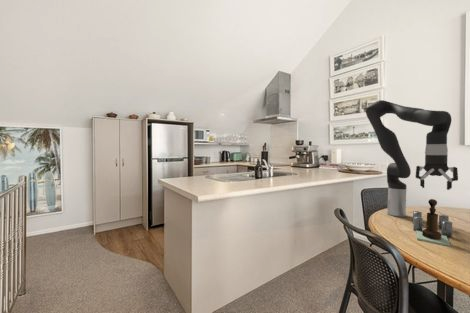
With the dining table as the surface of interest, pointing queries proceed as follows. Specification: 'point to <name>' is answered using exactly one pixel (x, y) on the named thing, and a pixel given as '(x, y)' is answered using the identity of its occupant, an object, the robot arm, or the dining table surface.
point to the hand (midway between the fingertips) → (435, 188)
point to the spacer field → (443, 223)
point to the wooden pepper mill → (432, 223)
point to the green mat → (442, 241)
